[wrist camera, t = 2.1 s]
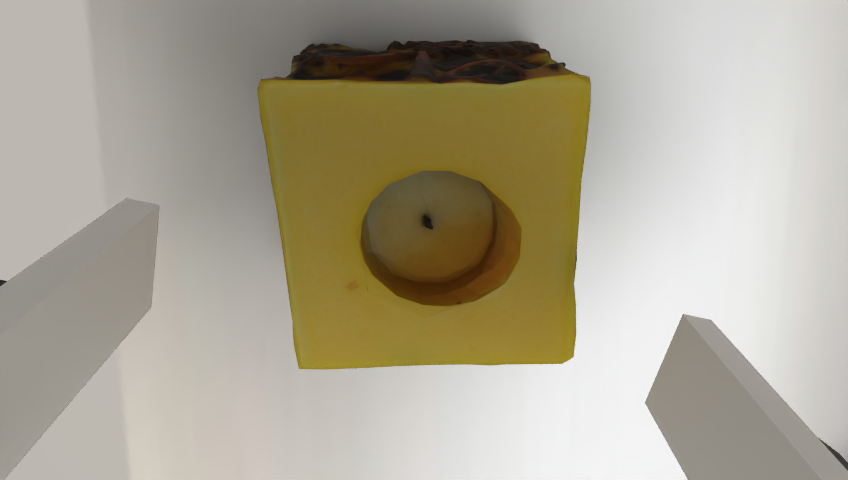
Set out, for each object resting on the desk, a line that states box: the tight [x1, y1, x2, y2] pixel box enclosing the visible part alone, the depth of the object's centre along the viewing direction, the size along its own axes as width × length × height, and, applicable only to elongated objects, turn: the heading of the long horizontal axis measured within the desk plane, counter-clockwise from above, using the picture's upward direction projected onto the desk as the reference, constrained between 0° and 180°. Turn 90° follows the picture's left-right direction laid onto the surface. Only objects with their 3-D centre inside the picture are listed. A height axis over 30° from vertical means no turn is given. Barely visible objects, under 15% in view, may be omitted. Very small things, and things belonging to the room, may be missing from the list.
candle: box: [258, 40, 591, 369], centre depth 24 cm, size 10×10×10 cm
